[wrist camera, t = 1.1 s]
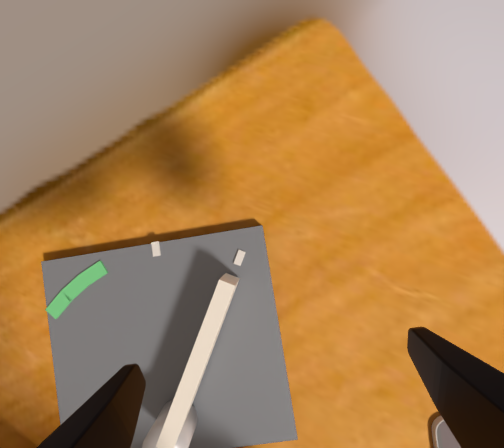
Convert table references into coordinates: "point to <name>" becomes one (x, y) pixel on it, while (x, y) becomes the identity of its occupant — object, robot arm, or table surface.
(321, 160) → the table surface
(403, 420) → the table surface
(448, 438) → the smartphone
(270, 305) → the dial plate
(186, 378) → the lever
